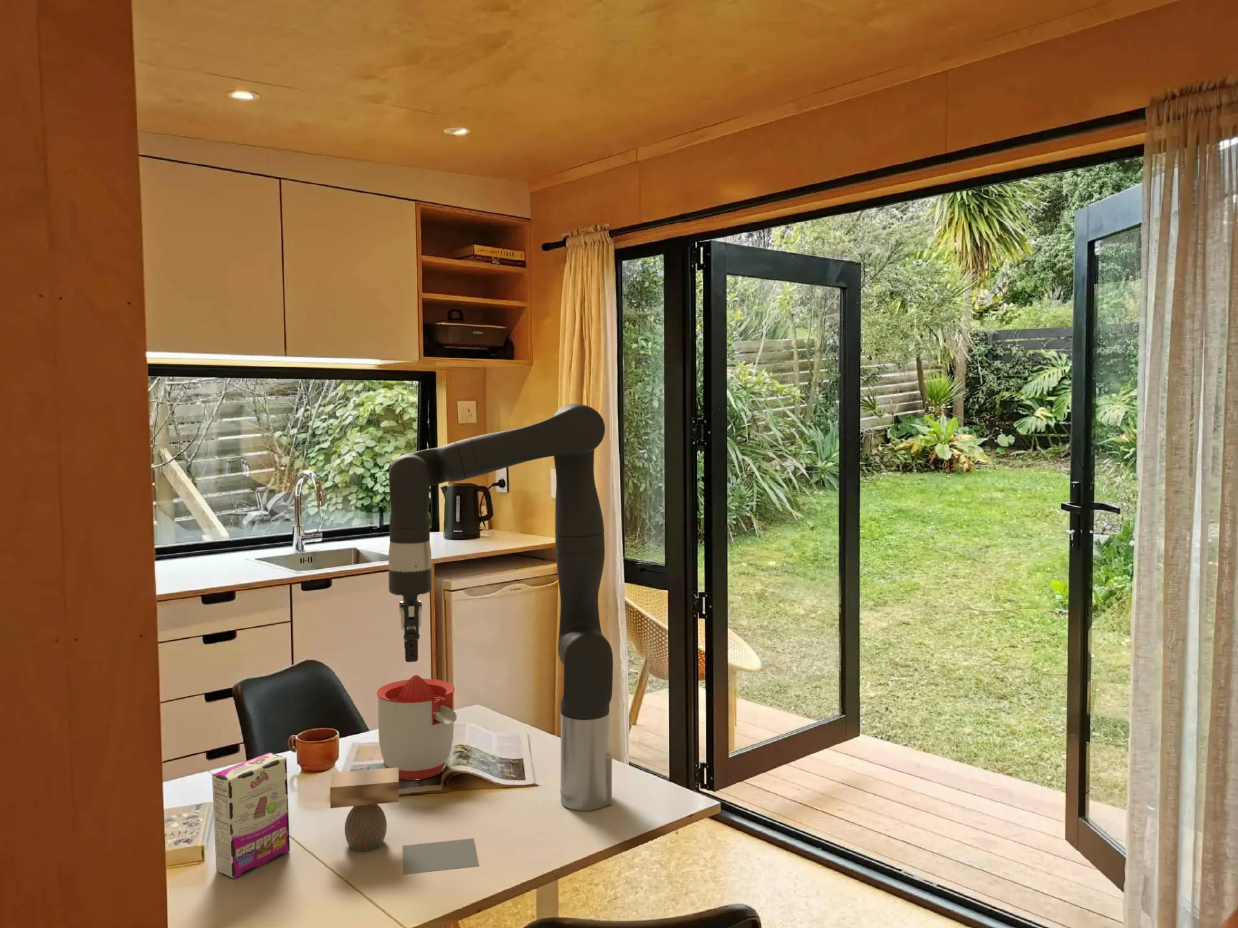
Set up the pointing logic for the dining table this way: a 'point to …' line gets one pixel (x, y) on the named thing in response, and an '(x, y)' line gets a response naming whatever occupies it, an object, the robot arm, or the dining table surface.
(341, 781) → the wooden rectangular block
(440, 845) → the rubber mat
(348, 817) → the vase
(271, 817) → the candy bar box
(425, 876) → the dining table surface
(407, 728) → the citrus juicer
